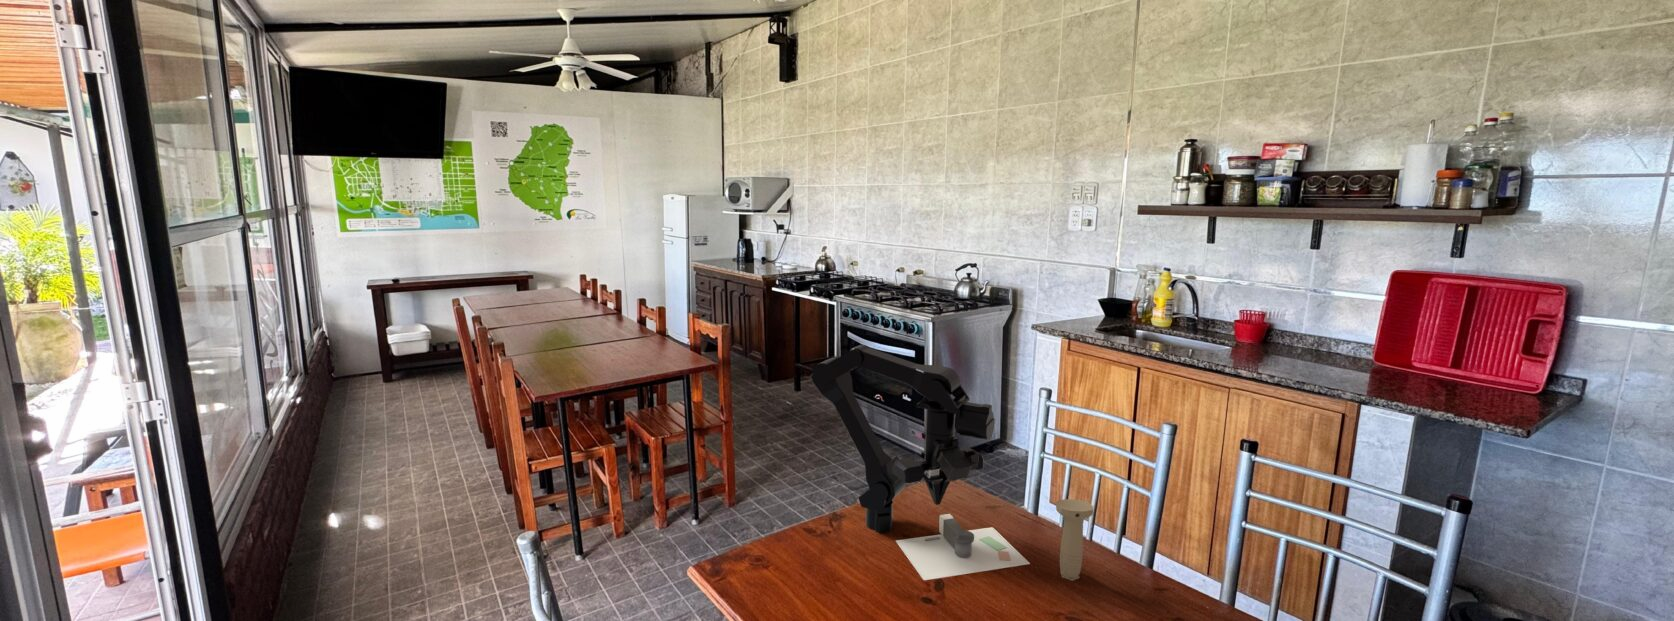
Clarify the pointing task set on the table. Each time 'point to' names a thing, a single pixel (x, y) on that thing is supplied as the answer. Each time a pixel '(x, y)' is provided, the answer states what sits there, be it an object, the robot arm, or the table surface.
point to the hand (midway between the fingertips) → (936, 503)
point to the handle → (1072, 535)
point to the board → (941, 561)
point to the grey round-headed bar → (956, 535)
